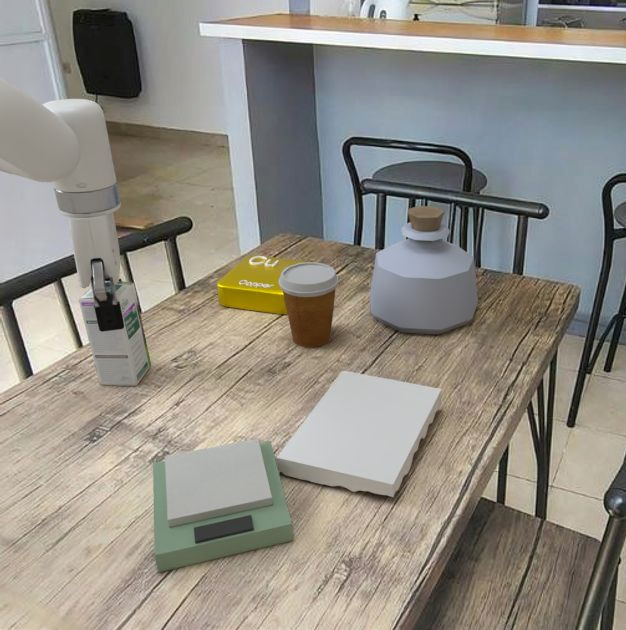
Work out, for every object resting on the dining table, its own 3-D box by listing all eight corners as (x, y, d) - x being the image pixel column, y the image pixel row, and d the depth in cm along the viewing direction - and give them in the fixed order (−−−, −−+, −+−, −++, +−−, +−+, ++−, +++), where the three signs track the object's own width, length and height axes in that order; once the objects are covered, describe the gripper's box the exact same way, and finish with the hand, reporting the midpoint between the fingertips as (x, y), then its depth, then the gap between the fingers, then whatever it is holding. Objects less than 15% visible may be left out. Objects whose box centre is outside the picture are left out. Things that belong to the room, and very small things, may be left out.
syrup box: (137, 386, 100) (120, 298, 93) (97, 385, 100) (77, 297, 93) (152, 366, 105) (136, 280, 99) (113, 365, 105) (95, 279, 99)
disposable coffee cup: (317, 319, 120) (314, 256, 115) (351, 339, 114) (350, 274, 109) (271, 337, 114) (265, 271, 109) (305, 359, 108) (301, 291, 103)
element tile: (214, 306, 124) (211, 282, 121) (250, 273, 137) (248, 251, 134) (292, 316, 121) (290, 292, 119) (321, 282, 134) (320, 259, 132)
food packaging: (393, 506, 80) (441, 408, 97) (393, 484, 79) (441, 389, 95) (279, 478, 84) (343, 389, 101) (276, 457, 83) (342, 370, 99)
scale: (158, 572, 70) (152, 547, 69) (156, 479, 83) (151, 455, 81) (293, 540, 75) (291, 516, 73) (272, 456, 87) (270, 433, 85)
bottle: (350, 298, 128) (348, 201, 119) (442, 280, 136) (446, 188, 127) (396, 347, 112) (397, 240, 103) (496, 324, 120) (505, 222, 111)
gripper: (63, 181, 96) (89, 294, 104) (49, 222, 81) (80, 350, 90) (121, 177, 98) (141, 288, 106) (116, 216, 84) (140, 341, 92)
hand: (113, 315), depth 98 cm, fingers closed on syrup box, 7 cm apart
